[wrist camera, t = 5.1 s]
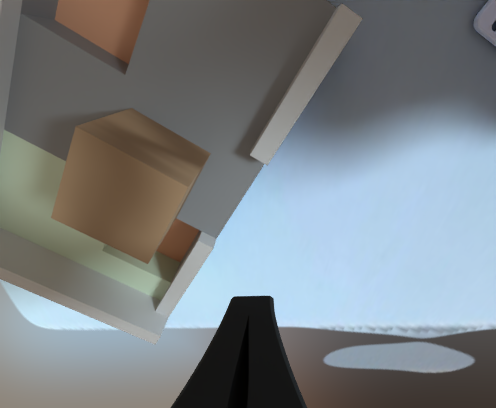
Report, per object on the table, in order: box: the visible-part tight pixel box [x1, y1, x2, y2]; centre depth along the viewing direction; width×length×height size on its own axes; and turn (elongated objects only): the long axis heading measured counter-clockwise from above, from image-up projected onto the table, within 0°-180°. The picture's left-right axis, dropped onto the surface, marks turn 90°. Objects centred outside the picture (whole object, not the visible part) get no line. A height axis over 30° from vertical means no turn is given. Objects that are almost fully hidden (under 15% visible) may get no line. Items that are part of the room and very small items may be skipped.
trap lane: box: [0, 0, 363, 344], centre depth 15 cm, size 14×21×5 cm, turn 150°
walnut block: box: [51, 108, 211, 264], centre depth 13 cm, size 4×4×4 cm
